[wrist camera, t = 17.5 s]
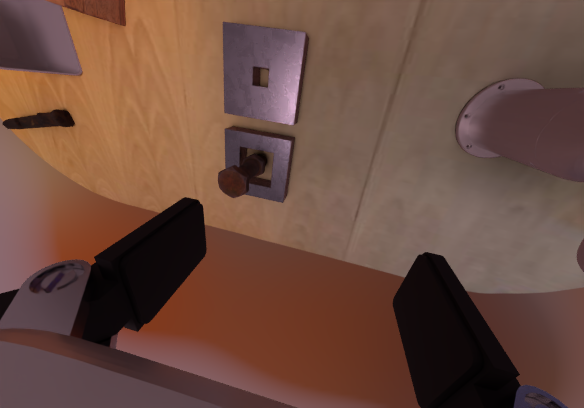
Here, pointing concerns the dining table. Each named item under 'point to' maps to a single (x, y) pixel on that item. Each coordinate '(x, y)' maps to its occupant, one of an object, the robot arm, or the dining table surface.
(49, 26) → the tank
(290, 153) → the wide-bore block
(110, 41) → the dining table surface
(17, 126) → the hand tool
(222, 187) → the bolt
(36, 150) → the dining table surface
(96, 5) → the wooden box
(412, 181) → the dining table surface
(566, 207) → the dining table surface
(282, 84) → the narrow-bore block
